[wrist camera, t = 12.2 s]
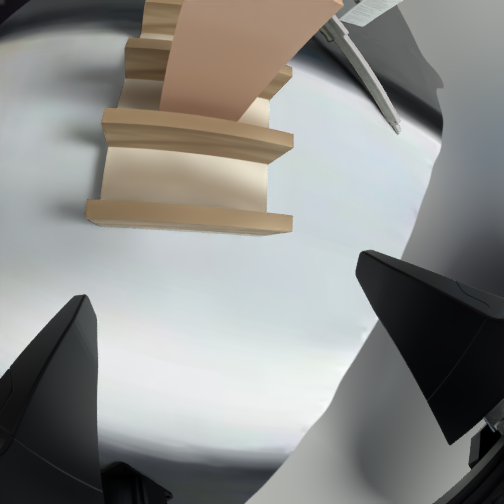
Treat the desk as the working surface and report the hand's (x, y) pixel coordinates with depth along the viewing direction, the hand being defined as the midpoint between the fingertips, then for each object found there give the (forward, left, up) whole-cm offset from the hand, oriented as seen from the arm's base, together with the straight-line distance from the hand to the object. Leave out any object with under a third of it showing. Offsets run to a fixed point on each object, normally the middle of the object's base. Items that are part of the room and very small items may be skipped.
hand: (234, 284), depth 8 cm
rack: (+7, +9, -12) cm, 17 cm away
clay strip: (+7, +9, -11) cm, 16 cm away
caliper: (+27, +8, -13) cm, 31 cm away
